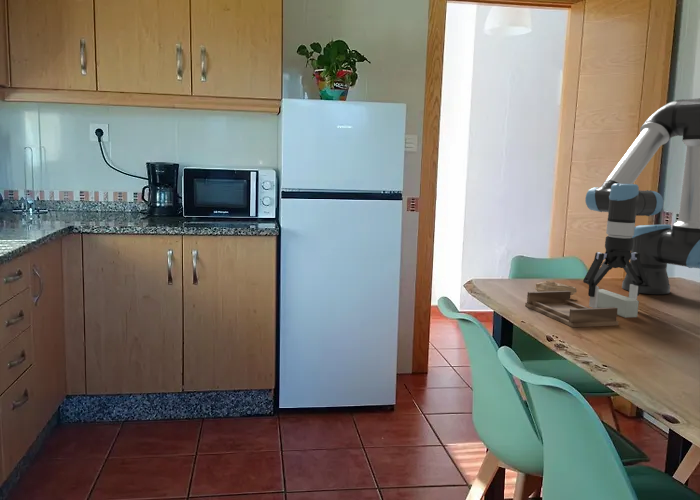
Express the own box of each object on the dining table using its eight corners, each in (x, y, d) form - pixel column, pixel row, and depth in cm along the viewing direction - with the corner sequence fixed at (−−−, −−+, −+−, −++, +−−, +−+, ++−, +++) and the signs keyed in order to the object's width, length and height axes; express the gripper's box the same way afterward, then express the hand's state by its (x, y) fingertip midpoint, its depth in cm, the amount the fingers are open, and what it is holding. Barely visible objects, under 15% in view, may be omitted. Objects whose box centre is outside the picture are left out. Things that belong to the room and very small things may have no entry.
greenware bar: (601, 304, 192) (602, 289, 191) (637, 317, 177) (638, 300, 176) (590, 305, 191) (591, 289, 190) (625, 318, 176) (626, 301, 175)
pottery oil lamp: (578, 300, 194) (571, 282, 191) (539, 309, 199) (533, 290, 196) (577, 286, 201) (570, 268, 198) (540, 294, 206) (533, 277, 204)
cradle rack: (525, 305, 186) (526, 291, 185) (565, 304, 190) (566, 290, 189) (573, 327, 163) (574, 310, 162) (618, 325, 167) (619, 308, 166)
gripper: (646, 235, 187) (639, 303, 190) (574, 234, 181) (568, 304, 184) (664, 238, 180) (656, 308, 183) (591, 237, 174) (584, 311, 177)
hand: (612, 307), depth 183 cm, fingers open, 13 cm apart
